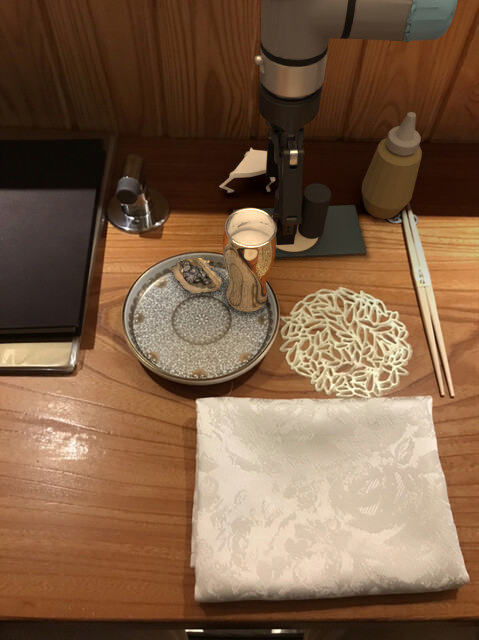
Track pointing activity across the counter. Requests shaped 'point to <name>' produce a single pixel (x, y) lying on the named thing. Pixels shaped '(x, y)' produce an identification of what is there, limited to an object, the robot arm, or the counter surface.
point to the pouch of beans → (196, 275)
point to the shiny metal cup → (249, 257)
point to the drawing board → (328, 236)
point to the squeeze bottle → (393, 171)
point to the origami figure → (250, 168)
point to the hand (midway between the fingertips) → (279, 208)
